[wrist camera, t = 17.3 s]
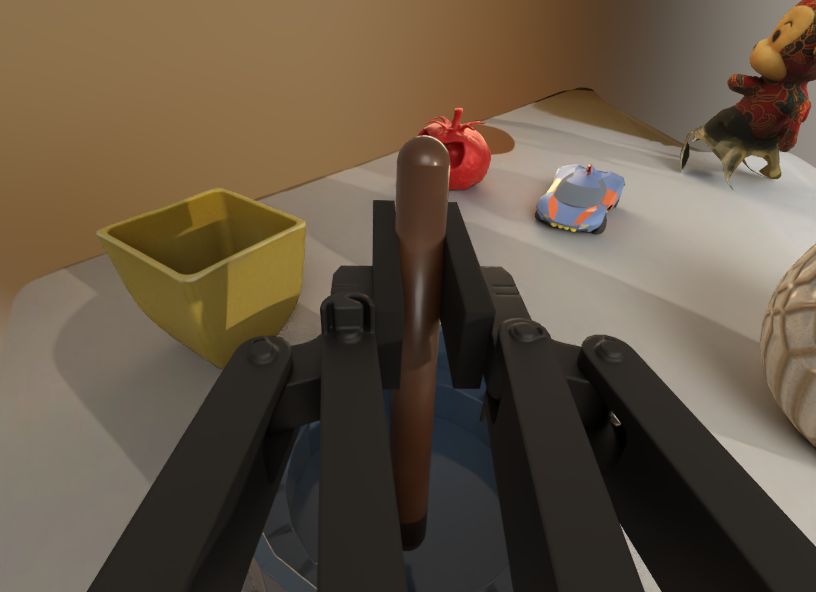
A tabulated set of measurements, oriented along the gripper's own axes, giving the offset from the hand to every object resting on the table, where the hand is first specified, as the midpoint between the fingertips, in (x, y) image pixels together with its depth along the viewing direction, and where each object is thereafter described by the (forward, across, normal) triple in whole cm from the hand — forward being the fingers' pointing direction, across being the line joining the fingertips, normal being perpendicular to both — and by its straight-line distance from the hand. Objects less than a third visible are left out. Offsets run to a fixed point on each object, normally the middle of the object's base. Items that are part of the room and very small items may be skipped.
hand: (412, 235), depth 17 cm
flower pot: (+11, -12, -14) cm, 21 cm away
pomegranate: (+43, +8, -14) cm, 46 cm away
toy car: (+33, +22, -14) cm, 43 cm away
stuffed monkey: (+46, +50, -14) cm, 70 cm away
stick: (-6, 0, -11) cm, 13 cm away
